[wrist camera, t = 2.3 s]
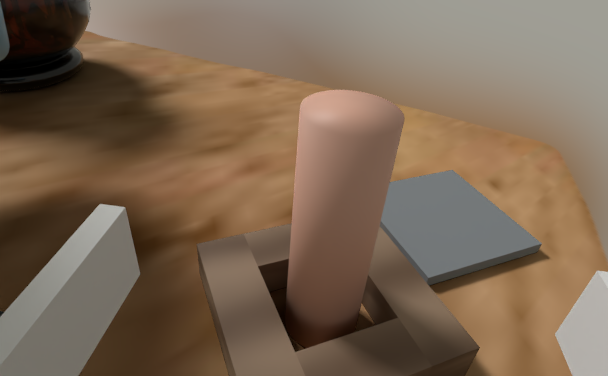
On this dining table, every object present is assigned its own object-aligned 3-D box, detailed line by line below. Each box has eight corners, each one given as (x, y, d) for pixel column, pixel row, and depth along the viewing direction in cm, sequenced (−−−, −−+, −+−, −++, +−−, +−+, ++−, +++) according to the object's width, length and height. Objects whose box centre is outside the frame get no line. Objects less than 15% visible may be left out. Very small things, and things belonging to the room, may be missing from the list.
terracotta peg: (274, 301, 30) (285, 94, 21) (336, 284, 32) (370, 86, 23) (301, 361, 27) (327, 143, 17) (368, 338, 29) (425, 128, 19)
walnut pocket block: (199, 272, 32) (196, 243, 30) (359, 234, 37) (364, 207, 35) (254, 463, 22) (254, 436, 20) (465, 375, 27) (479, 347, 25)
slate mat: (352, 197, 41) (354, 189, 41) (449, 177, 46) (452, 170, 45) (425, 286, 33) (428, 277, 32) (537, 251, 37) (541, 243, 36)
